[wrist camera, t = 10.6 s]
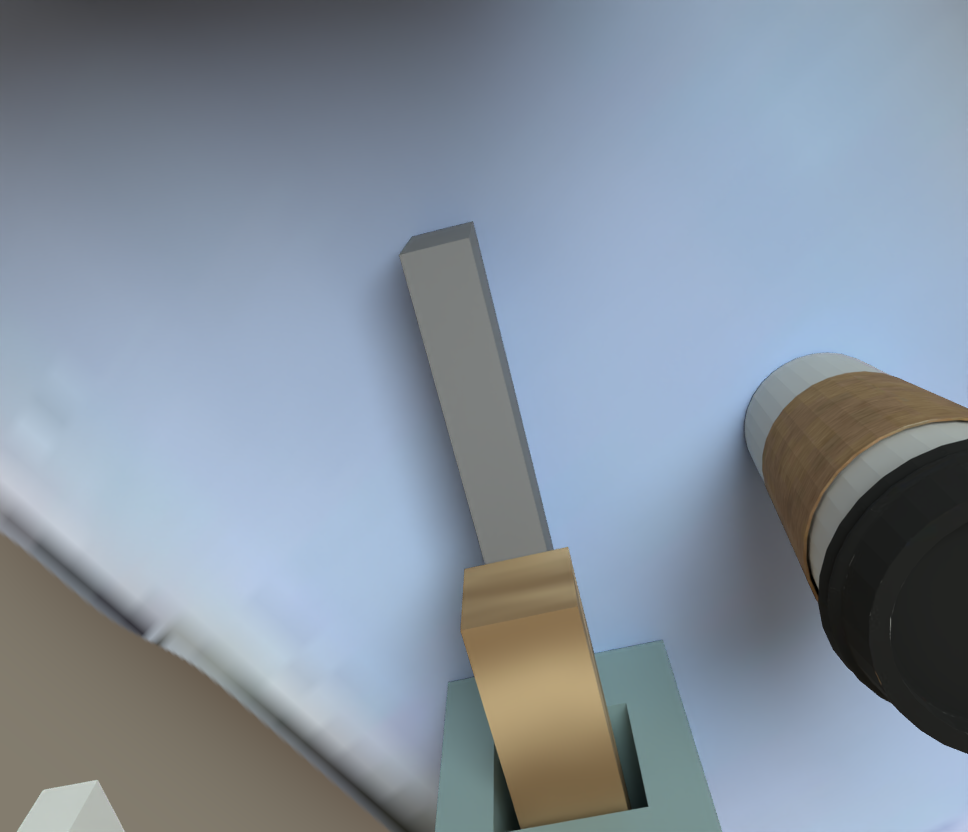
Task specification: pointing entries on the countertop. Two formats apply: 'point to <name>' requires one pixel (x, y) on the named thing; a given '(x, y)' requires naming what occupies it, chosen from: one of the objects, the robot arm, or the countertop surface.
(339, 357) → the countertop surface
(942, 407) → the coffee cup
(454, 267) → the rail
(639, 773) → the bore block
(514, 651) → the oak peg
